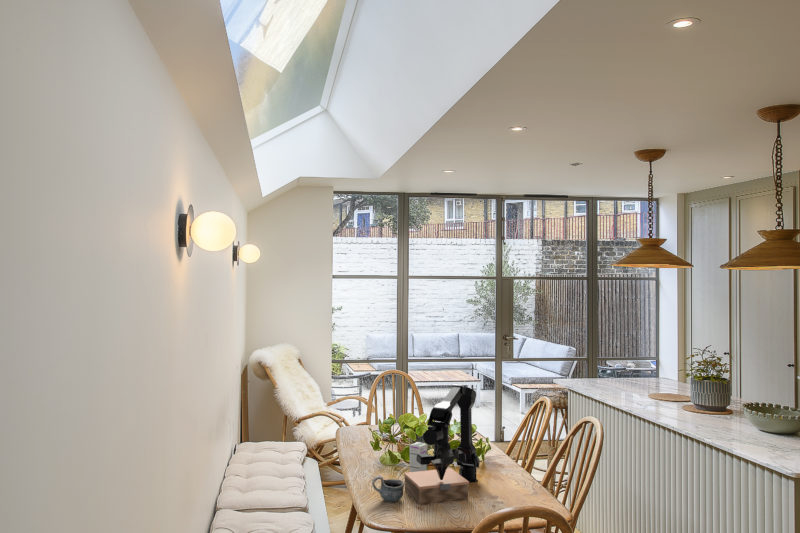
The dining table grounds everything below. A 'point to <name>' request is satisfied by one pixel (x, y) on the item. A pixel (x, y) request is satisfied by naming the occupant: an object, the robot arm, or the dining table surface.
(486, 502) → the dining table surface
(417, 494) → the crate
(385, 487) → the mug
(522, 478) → the dining table surface
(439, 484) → the lid
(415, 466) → the syrup box
